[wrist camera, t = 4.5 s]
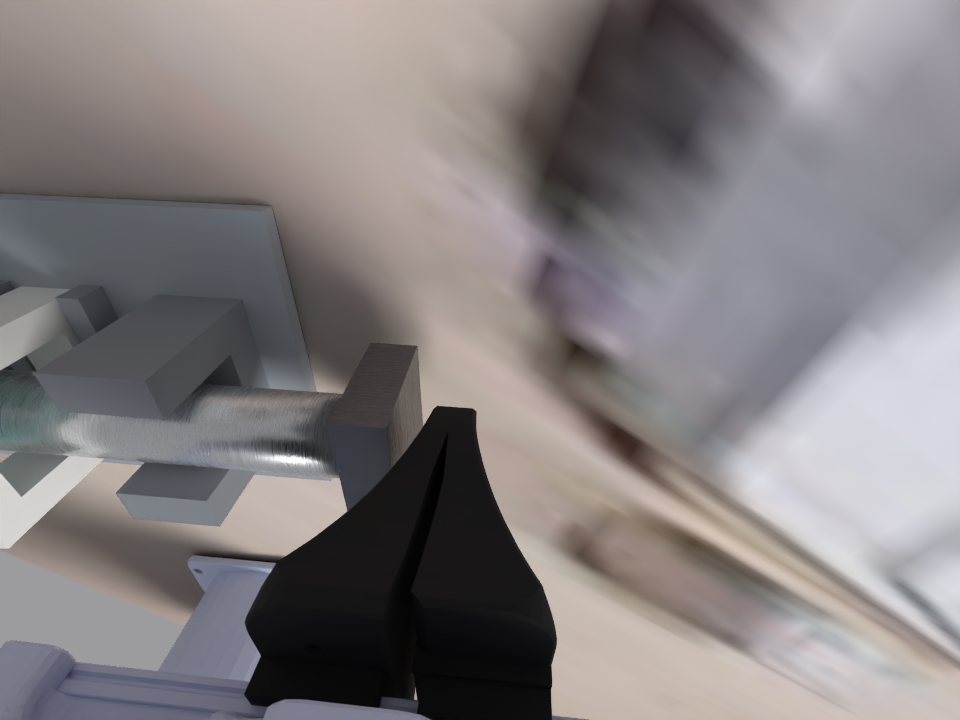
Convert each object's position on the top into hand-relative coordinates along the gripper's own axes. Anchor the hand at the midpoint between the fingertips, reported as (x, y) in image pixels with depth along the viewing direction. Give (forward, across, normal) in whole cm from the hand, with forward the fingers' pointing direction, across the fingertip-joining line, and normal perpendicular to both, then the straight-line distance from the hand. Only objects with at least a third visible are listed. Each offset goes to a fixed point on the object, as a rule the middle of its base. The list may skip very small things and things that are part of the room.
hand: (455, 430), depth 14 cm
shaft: (+1, +9, 0) cm, 9 cm away
